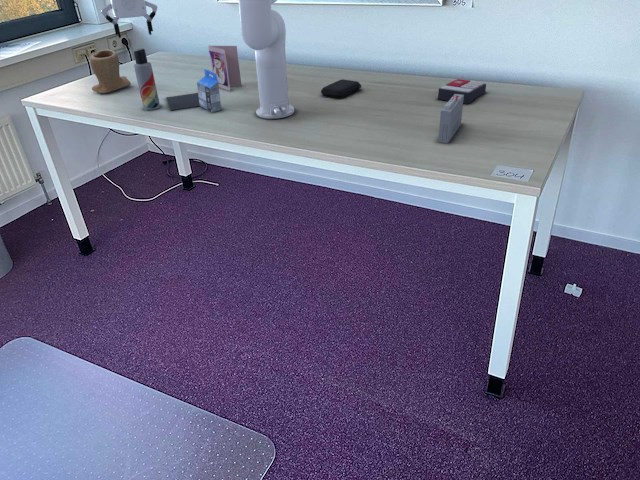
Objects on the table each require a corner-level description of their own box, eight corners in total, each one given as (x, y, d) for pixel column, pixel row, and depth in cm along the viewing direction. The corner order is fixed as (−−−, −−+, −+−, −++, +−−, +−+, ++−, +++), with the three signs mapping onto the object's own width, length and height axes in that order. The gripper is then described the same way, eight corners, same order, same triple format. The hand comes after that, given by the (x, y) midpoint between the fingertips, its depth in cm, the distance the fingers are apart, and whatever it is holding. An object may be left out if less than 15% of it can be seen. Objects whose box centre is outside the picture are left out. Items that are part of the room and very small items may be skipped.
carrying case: (343, 100, 181) (365, 89, 191) (343, 92, 179) (365, 81, 189) (318, 96, 186) (341, 85, 196) (318, 87, 185) (341, 77, 195)
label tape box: (199, 106, 182) (193, 70, 175) (209, 103, 184) (204, 68, 177) (212, 112, 176) (206, 76, 169) (222, 109, 178) (217, 73, 171)
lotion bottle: (155, 110, 181) (142, 50, 170) (140, 110, 182) (126, 50, 171) (163, 105, 186) (150, 46, 175) (148, 105, 187) (135, 47, 176)
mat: (211, 105, 184) (211, 103, 183) (171, 111, 180) (171, 109, 180) (204, 93, 196) (204, 91, 196) (166, 98, 193) (166, 97, 192)
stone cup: (105, 97, 197) (94, 56, 189) (88, 92, 204) (77, 52, 196) (139, 87, 207) (130, 48, 199) (122, 83, 214) (113, 44, 206)
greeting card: (212, 86, 204) (206, 46, 196) (228, 81, 208) (222, 42, 200) (228, 91, 197) (222, 50, 189) (244, 87, 201) (239, 46, 193)
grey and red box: (487, 81, 180) (469, 90, 169) (485, 94, 182) (467, 104, 171) (457, 77, 185) (438, 86, 175) (455, 89, 187) (437, 99, 177)
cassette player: (451, 123, 157) (455, 90, 152) (460, 124, 156) (464, 91, 151) (438, 142, 146) (441, 106, 140) (447, 143, 145) (451, 107, 139)
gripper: (93, -20, 156) (107, 40, 166) (152, -24, 161) (163, 34, 170) (93, -22, 162) (107, 36, 172) (150, -26, 167) (161, 30, 176)
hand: (135, 35), depth 171 cm, fingers open, 9 cm apart
